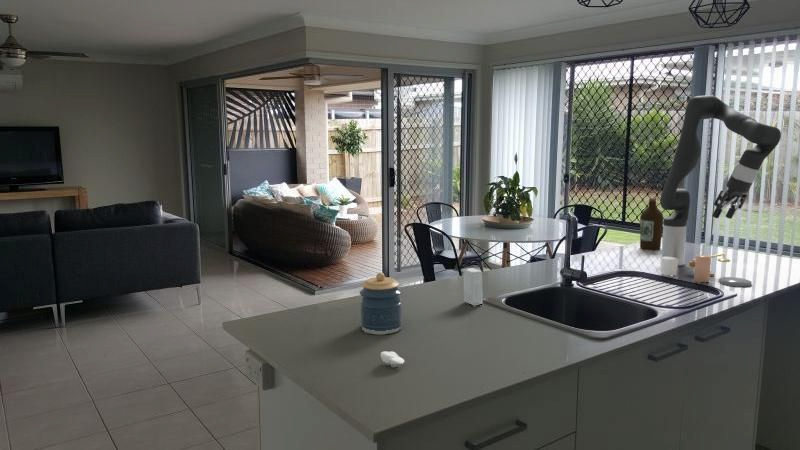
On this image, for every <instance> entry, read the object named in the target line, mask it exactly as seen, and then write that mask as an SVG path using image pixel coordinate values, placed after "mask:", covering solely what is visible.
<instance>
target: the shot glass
mask: <svg viewBox="0 0 800 450" xmlns="http://www.w3.org/2000/svg"><path fill="white" fill-rule="evenodd" d="M659 260H660V274H661V275H662V274H664V275H663V276H665V275H676V276H677V271H678V260H679V259H678V258H676V257H670V256H664V257H662V256H661V257H660V259H659Z"/></svg>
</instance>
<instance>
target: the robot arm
mask: <svg viewBox="0 0 800 450" xmlns="http://www.w3.org/2000/svg"><path fill="white" fill-rule="evenodd" d="M709 119H715V120H719V121H722V122H723V124H724V126H725V128H727V130H729V131H731V132H733V133H735V134H738V135H739V136H741V137H743V138H744V139H746V140H747V141H749V142H750V143H752V144H755V146H754V147H752V148H747V149H745V150H744V151H743V152H742V155H741V157H740V158H739V160H738V162H737V163H736V165H735V167H734V169H733V171H732V173H731V174H730V177H729V179H728V180H727V182H726V183H725V186H726V187H727V190H720V192H719V193H718V196H717V197H716V199H715V201H714V203H713V206H715V207H716V208H715V210H714V211H713V213H712V217H713V218H715V219H719V217H720V216H721V214H722V212H723V209H724V208H726V207H728V206H729V205H730V207H729V208H728V210H727V212H726V214H725V218H727V219H729V220H731V219H733V217H734V215H735V214H736V211H738V210H741V209H742V207H743V205H744V204H745V201H746V200H747V197H748V192H749V191H750V189H751V187H752V185H753V183H754V181H755V179H756V177H757V175H758V173H759V170H760V168H761V166H762V164H763V163H764V161H765V159H766V158H767V157H768V156H770V154H771V153H772V152H773V151H774V149H775V148H776V147H777V146H778V144H779V143H780V141H781V139H782V132H781V130H780V129H779V128H778V127H775V126H772V125H769V124H764V123H761V122H758V121H757V120H756V119H755V118H754V117H753V118H752V117H750V116H748V115H746V114H744V113H742V112H739V111H737V110H736V109H734V108H732V107H731V106H729V105H728V104H727V103H725V102H724V101H723V100H721V99H720V98H718V97H716V96H714V95H709V94H708V95H707V94H706V95H697V96H692V97H691V98H690V99H689V100H688V102H687V105H686V107H685V113H684V118H683V122H682V128H681V133H680V136H679V140H678V144H677V146H676V149H675V153H674V156H673V160H672V163H671V168H670V170H669V173H668V177H667V179H666V182H665V183H664V187H663V188H662V192H661V195H660V200H659V202H660V207H661V208H662V209H663V210H664V211H674V212H673V213H672V214H671V215H669V216H666V217H665V218H663V227H662V238H661V257H664V256H670V257H676V258H678V259H679V260H678V266H684V264H685V257H686V256H685V253H686V239H687V237H686V236H687V224H688V223H687V222H688V220H689V214H690V205H691V194H690V192H689V191H688V189H686V188H679V186H680V184H681V182H683V181H684V179H685V178H686V177H687V176H688V175H689V174H690V173H691V172H692V171H694V169H695V168H696V166H697V164H698V163H699V159H700V157H701V152H702V148H701V144H700V143H701V142H700V140H699V137H698V127H699V124H700V122H701V120H709Z"/></svg>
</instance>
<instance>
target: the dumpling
mask: <svg viewBox="0 0 800 450" xmlns="http://www.w3.org/2000/svg"><path fill="white" fill-rule="evenodd" d="M380 358H381V359H380V360H382V362H383V363H384V362H385V363H390V364H394V365H395V364H402V365H404V364H405V359H404V358H402V357H400V355H398V353H396V352H395V351H381V352H380ZM385 363H384V364H385ZM403 363H404V364H403Z"/></svg>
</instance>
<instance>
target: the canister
mask: <svg viewBox="0 0 800 450" xmlns="http://www.w3.org/2000/svg"><path fill="white" fill-rule="evenodd" d="M361 286H362V288H361V289H360V290H359V295H360V299H361V300H360V301H359V305H360V307H359V308H360V320H359V321H360V322H359V325H360V324H361V326H362V327H364V328H366V329H369V330H375V331H386V330H392V329H396V328H399V327H401V326H402V327H403V317H402V316H403V312H402V311H403V309H402V308H403V306H402V305H403V304H402V303H403V300H402V299H401V295H402V293H403V290H402V289H401V288H400V287H399V286H400V283H399V281H397V280H395V279H394V278H393V277H387V276H385V274H384V272H377V274H376V276H374V277H370V278H367V279H366V280H365V281H364V282H362V283H361ZM361 326H360V327H361Z"/></svg>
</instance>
